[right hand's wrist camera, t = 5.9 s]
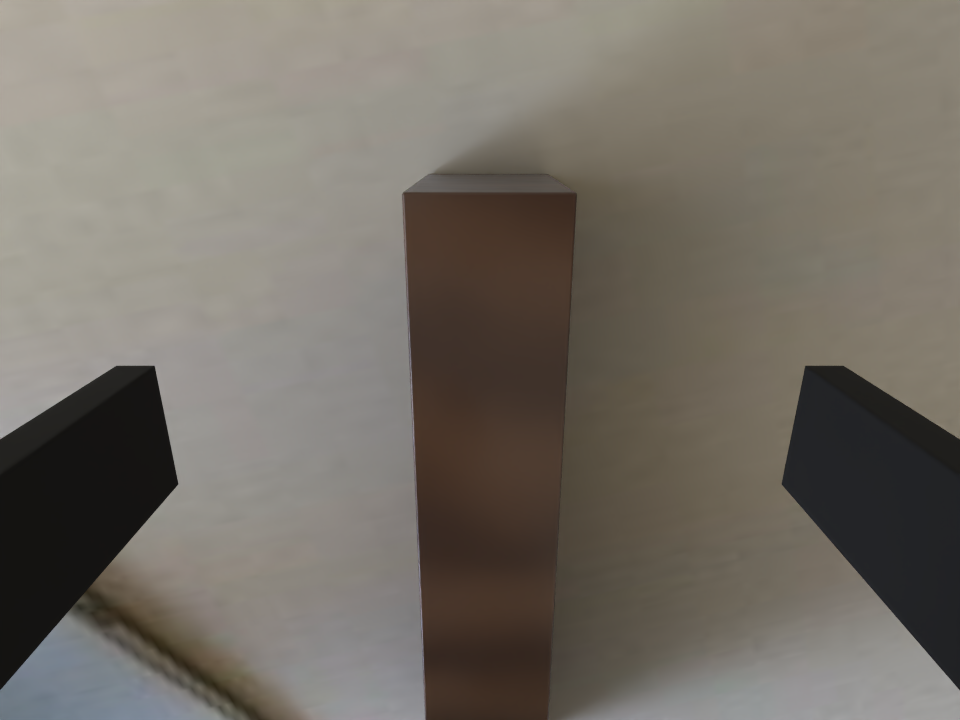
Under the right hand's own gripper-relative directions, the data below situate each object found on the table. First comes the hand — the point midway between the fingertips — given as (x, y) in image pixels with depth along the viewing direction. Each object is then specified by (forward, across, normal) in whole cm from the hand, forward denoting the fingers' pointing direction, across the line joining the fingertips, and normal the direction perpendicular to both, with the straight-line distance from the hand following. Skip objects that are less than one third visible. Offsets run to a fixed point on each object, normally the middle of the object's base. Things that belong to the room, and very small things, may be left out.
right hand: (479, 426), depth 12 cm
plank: (+15, 0, +12) cm, 19 cm away
